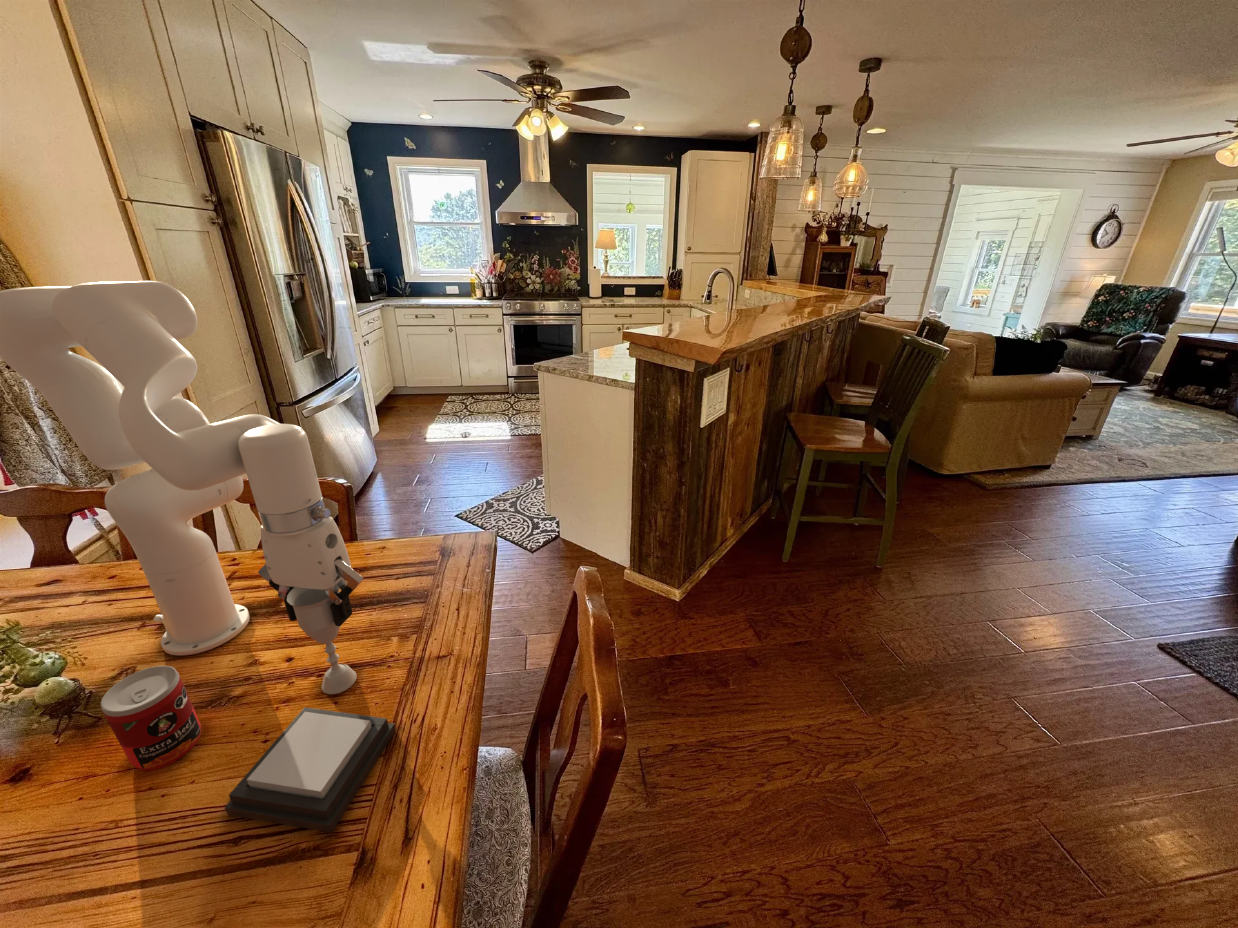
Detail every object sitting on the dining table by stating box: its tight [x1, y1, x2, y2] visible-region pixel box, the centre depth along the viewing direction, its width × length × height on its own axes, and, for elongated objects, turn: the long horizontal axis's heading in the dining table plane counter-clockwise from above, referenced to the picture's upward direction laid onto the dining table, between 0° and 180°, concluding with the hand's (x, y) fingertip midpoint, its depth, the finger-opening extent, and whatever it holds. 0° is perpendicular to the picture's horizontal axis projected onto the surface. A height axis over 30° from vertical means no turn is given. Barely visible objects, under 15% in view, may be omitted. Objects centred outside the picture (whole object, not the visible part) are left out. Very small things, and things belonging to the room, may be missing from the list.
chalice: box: [287, 585, 358, 695], centre depth 76 cm, size 7×7×18 cm
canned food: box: [100, 665, 202, 772], centre depth 67 cm, size 8×8×11 cm
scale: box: [224, 706, 397, 834], centre depth 66 cm, size 14×14×3 cm
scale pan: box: [247, 712, 372, 800], centre depth 65 cm, size 10×10×2 cm
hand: (321, 616), depth 75 cm, fingers closed on chalice, 6 cm apart
